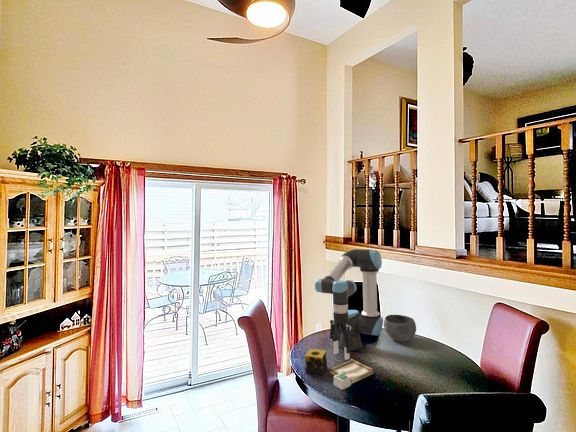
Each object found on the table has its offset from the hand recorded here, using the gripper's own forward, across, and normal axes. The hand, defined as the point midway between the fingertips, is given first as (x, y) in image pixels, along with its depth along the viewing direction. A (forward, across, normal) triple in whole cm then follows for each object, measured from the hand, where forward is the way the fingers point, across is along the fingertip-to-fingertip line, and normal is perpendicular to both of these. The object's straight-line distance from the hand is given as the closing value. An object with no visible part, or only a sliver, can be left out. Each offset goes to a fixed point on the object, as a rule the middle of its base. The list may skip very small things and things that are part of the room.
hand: (341, 356), depth 164 cm
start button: (+13, 0, 0) cm, 13 cm away
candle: (+15, -20, 0) cm, 25 cm away
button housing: (+15, 0, 0) cm, 15 cm away
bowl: (+15, -17, +73) cm, 76 cm away
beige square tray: (+15, -6, +13) cm, 21 cm away
